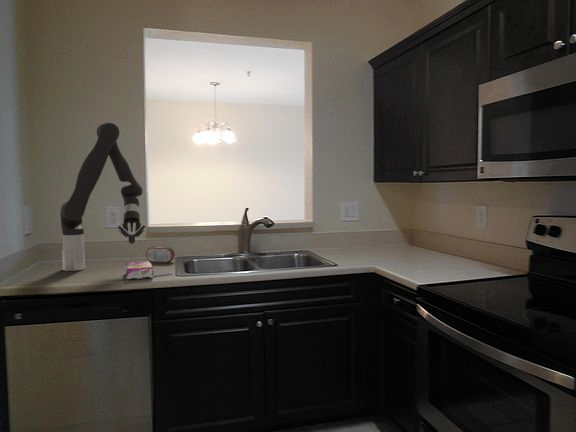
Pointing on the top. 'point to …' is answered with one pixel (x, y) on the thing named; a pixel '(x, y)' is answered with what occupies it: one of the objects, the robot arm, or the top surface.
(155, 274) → the mat
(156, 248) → the tin
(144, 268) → the candy bar box
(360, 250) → the top surface
